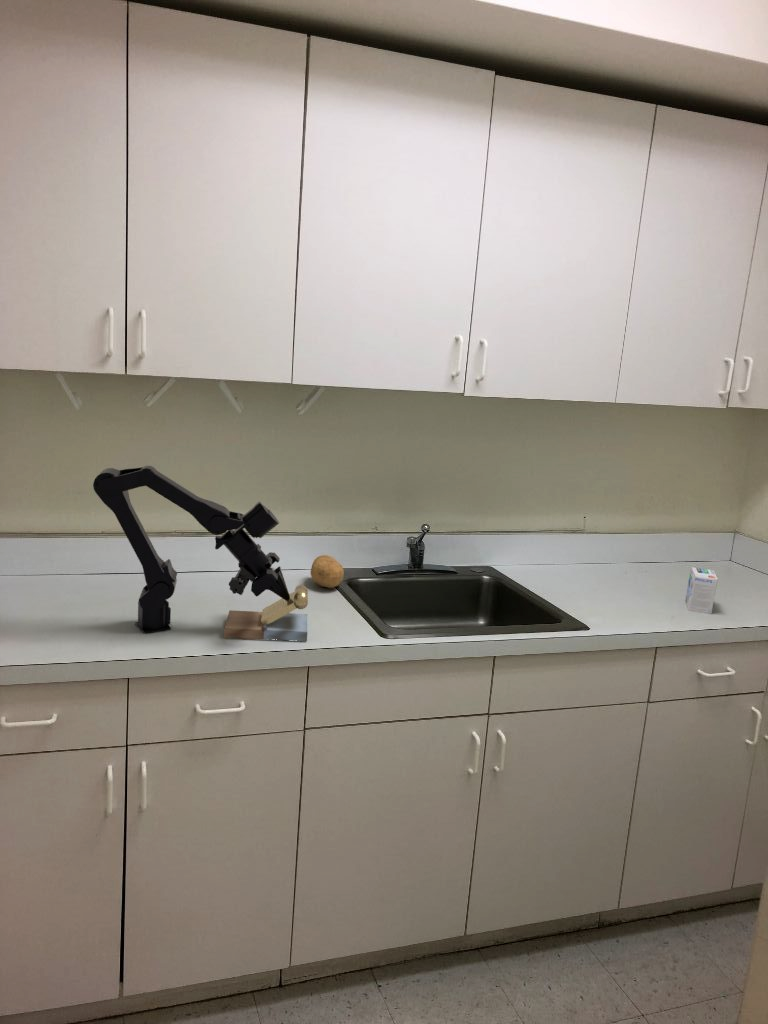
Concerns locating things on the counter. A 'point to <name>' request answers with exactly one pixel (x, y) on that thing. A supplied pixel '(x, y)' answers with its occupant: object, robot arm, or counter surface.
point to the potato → (327, 571)
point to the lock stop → (285, 605)
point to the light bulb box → (701, 590)
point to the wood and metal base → (265, 626)
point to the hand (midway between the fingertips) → (288, 599)
